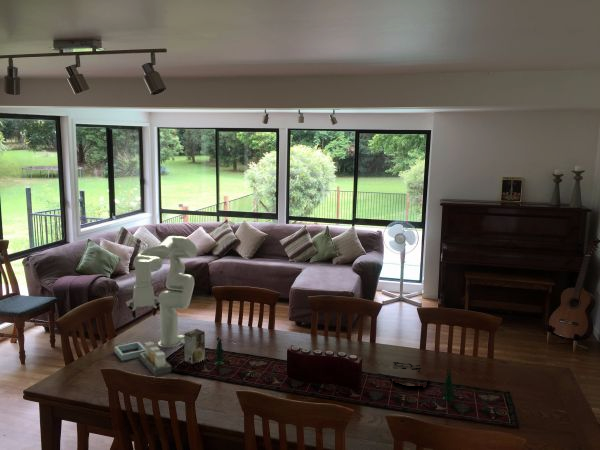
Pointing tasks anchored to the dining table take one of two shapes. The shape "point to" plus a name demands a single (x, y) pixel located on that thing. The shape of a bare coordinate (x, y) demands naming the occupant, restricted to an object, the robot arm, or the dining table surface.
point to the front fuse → (159, 359)
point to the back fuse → (147, 346)
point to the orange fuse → (153, 353)
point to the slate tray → (128, 347)
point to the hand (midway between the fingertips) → (144, 316)
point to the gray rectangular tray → (152, 365)
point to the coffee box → (194, 346)
